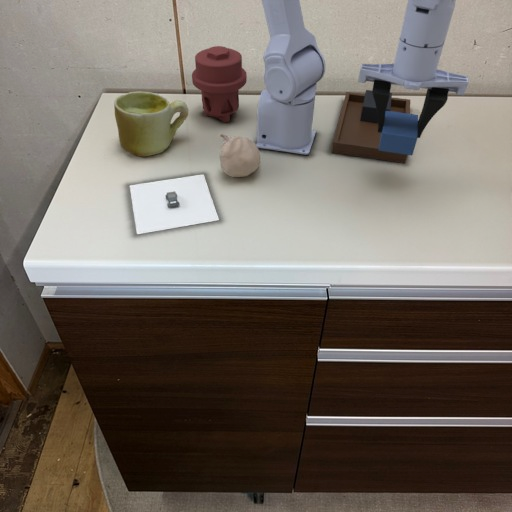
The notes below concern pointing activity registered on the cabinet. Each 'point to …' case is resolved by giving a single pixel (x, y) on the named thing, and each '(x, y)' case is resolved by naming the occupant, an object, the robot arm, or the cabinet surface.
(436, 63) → the robot arm
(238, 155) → the garlic bulb
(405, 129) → the blue block
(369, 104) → the charcoal block
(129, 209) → the cabinet surface
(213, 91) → the mechanical component
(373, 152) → the tray
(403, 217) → the cabinet surface
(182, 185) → the white paper sheet
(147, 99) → the mug
